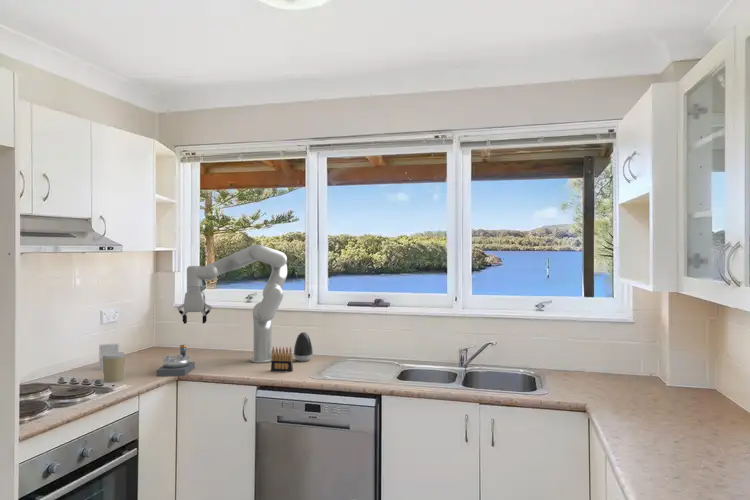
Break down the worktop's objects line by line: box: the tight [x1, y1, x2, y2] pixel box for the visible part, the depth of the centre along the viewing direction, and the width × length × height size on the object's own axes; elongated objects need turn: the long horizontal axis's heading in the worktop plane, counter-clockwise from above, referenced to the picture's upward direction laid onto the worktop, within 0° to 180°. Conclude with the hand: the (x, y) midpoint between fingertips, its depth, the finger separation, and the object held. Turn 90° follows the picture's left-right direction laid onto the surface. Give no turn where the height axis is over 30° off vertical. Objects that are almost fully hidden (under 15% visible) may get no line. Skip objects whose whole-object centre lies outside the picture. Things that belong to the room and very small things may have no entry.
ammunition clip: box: [270, 346, 294, 373], centre depth 243 cm, size 11×2×12 cm, turn 82°
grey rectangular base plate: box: [156, 361, 196, 377], centre depth 241 cm, size 13×16×3 cm
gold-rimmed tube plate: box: [162, 344, 190, 368], centre depth 244 cm, size 18×12×8 cm, turn 5°
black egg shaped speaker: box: [293, 331, 314, 362], centre depth 267 cm, size 10×10×15 cm
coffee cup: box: [102, 351, 126, 383], centre depth 225 cm, size 9×9×12 cm
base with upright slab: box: [98, 342, 120, 371], centre depth 249 cm, size 9×9×12 cm
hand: (194, 323), depth 252 cm, fingers open, 9 cm apart
